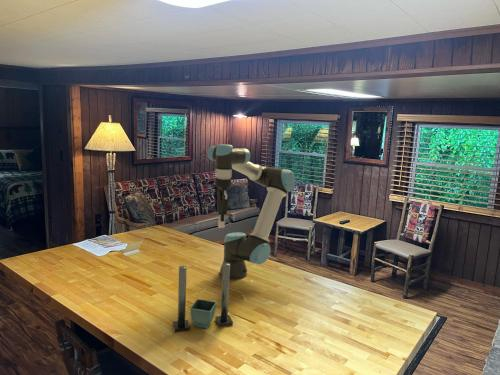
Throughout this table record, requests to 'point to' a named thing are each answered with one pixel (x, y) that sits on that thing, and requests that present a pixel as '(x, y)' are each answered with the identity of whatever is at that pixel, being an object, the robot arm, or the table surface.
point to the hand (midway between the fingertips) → (221, 227)
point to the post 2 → (224, 298)
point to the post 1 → (181, 303)
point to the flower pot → (202, 312)
